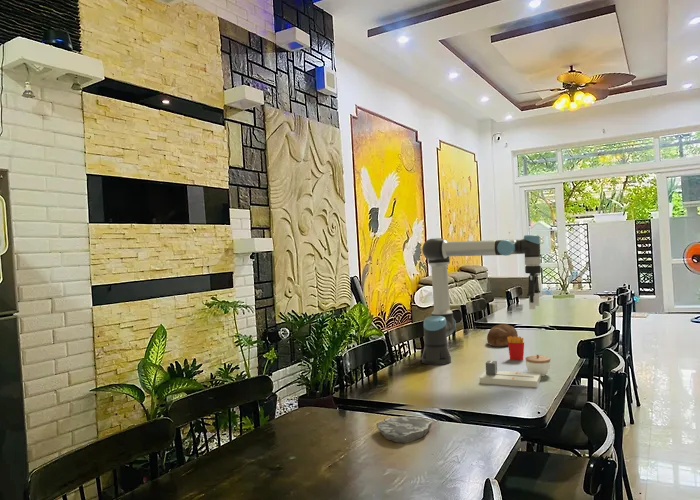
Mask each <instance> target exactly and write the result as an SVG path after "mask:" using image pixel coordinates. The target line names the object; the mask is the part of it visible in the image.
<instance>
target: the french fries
mask: <svg viewBox="0 0 700 500" xmlns="http://www.w3.org/2000/svg"><path fill="white" fill-rule="evenodd" d="M507 339H508V346H507V347H508V354H509V359H510V360H511V361H523V360H524V356H525V355H524V354H525V353H524V351H525V342H524V337H522V336H518V337H515V336H514V337H512V336H510V337H507Z"/></svg>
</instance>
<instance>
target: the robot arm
mask: <svg viewBox="0 0 700 500" xmlns="http://www.w3.org/2000/svg"><path fill="white" fill-rule="evenodd" d="M422 254H423V256H424V258H426V259H427V263H428V264H429V266H430V267H431V282H432V283H431V284H432V299H433V311H431V315H430V316H426V317H425V318H424V320H423V325H422V326H423V337H424V338H423V341H424V347H423V348H424V349H423V352H422V357H421V363H422V364H425V365H430V366H431V365H433V366H435V365H436V366H437V365H438V366H439V365H448V364H450V363H451V362H452V356H451V354H450V350H449V349H448V340H447V339H448V338H447V337H449V336H451V335H452V334H453V333H454V332H455V330H456V327H457V326H456V325H457V324H456V323H457V322H456V320H455V318H454V312H453V311H452V310H451V309H450V308H451V307H450V291H449V274H448V265H449V264H450V257H473V256H474V257H477V256H478V257H481V256H511V255H523V254H524V265H525V266H524V270H525V271H524V272H525V274H529V275H528V289H527V291H528V293H527V295H526V296H527V297H528V305H529V306H528V308H529V310H536V307H539V306H540V295H539V294H540V293H541V290H540V287H539V286H540V284H539V277H538V276H539V275H538V274H541V273H542V266H541V261H543V259H542V258H541V241H540V235H539V234H525V235H524V236H523V238H519V239H517V238H515V239H501V240H500V239H498V240H496V239H494V240H461V241H448V240H447V239H444V238H441V237H439V238H438V237H436V238H429V239H427V240H426V241H424V243H423V244H422Z"/></svg>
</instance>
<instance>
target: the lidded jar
mask: <svg viewBox="0 0 700 500" xmlns="http://www.w3.org/2000/svg"><path fill="white" fill-rule="evenodd" d="M525 366H526V369H527V372H528V373H540V374H541V376H543V377H546V376H545V375H547V374H548V373H549V371H550V369H551V358H550V357H548V356H544V355H540V354H539V353H538V354H536V355H529V356H526V357H525Z"/></svg>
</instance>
